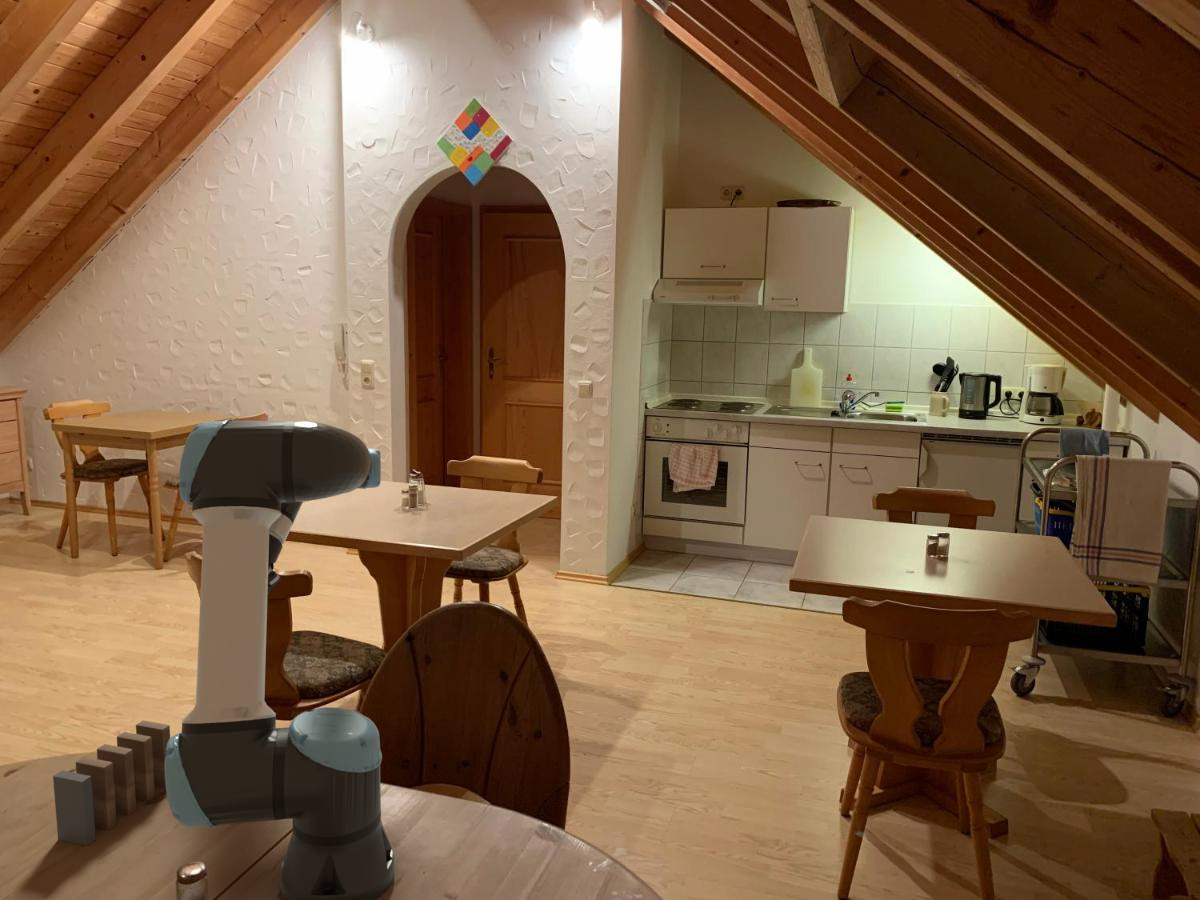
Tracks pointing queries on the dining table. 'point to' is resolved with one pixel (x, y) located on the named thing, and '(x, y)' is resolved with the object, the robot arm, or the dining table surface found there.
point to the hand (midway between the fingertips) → (209, 655)
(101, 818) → the domino
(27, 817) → the dining table surface
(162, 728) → the domino
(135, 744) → the domino
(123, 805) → the domino
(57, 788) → the domino
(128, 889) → the dining table surface
